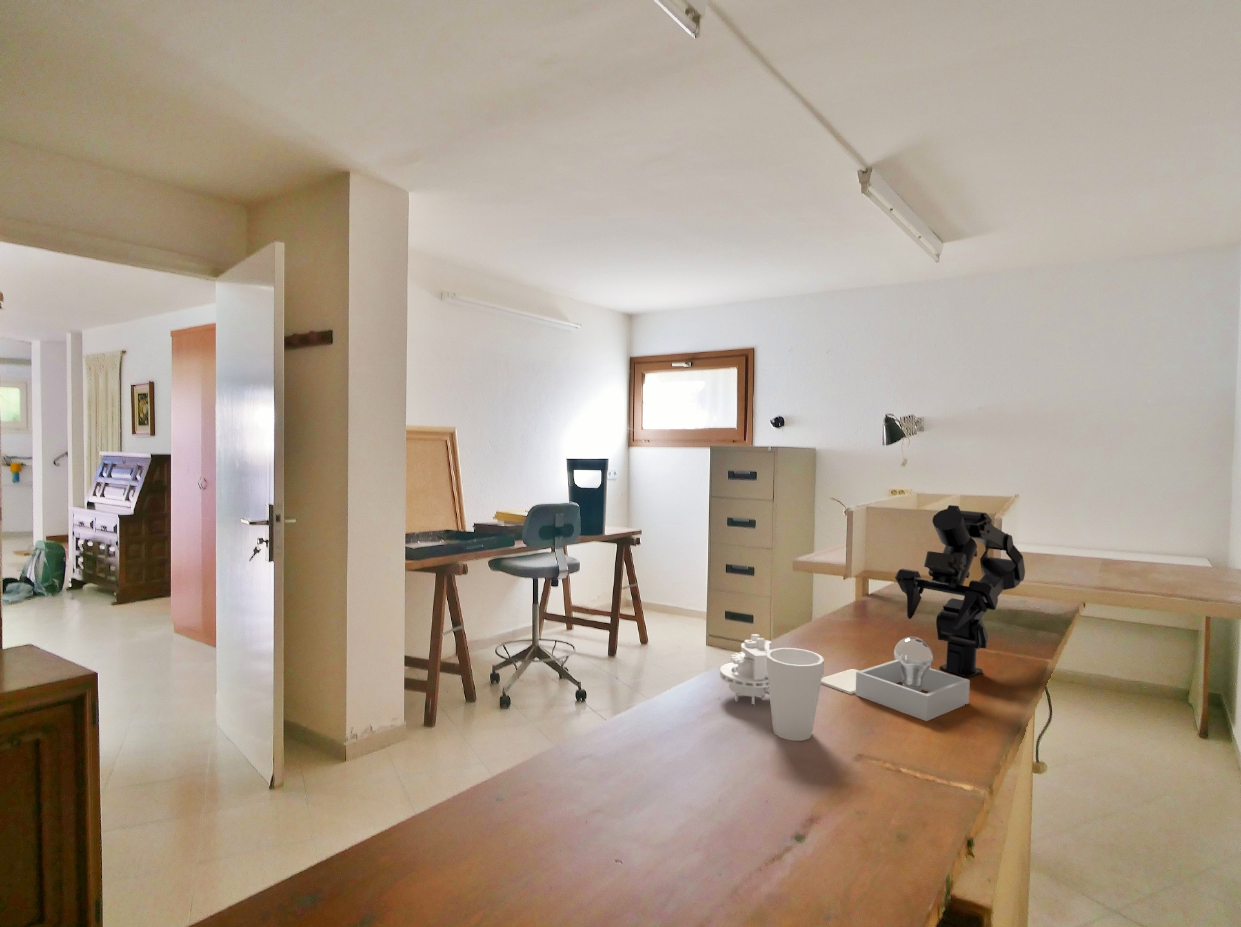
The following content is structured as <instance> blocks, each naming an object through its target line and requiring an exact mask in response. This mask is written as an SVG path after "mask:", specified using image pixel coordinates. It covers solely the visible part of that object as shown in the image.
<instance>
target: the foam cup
mask: <svg viewBox="0 0 1241 927" xmlns="http://www.w3.org/2000/svg"><path fill="white" fill-rule="evenodd" d="M766 669H767V673H768V683H769V693H770V695H769V702H770V711H771V712H770V713H771V723H772V724H771V725H772V730H773V734H774V735H776V736H777V735H778V736H777V737H779V738H782V739H784V740H787V741H788V740H789V741H793V742H794V741H795V742H796V741H806V740H809V739H810V738H811V737H812V735H813V730H814V724H815V718H816V714H817V708H818V702H819V696H820V690H821V685H822V684H821V679H822V678H823V676H824V674H825V659H824V657H823V656H822V655H820V654H818V653H816V652H815V651H812V650H811V651H810V650H807V649H804V648H795V647H777V648H773V649H772V648H771V650H770V651H768V652H767V653H766Z"/></svg>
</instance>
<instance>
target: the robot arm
mask: <svg viewBox="0 0 1241 927" xmlns="http://www.w3.org/2000/svg"><path fill="white" fill-rule="evenodd" d="M932 524H933V526H934V527H933V528H934V529H935V532H936V534H937V536H938V538H939V541H940V543H942V545H944V549H943V550H942V552H940V551H939V552H937V551H930V550H928V551H927V552H926V555H925V556H926V557H925V561H924V568H927V569H928V575H929V576H930V577H931V579H928V578H924V577H922V576H921V575H920V572H919V570H914V569H908V568H901V569H899V570H898V571H897V572H896V575H895V576H894V578H895V581H896V582H897V584H898V586H899V588H900V590H901V592H903V593H904V594H905V595H906V608H907V609H906V612H907V613H906V616H907V619H909V620H911V619H912V618H913V617H914V615H915V613H916V611H917V609H918V606H919V604H920V602H921V600H922V596H921V594H923V592H924V590H926V589H927V590H930V591H937V592H942V593H946V594H951V595H956V596H962V597H963V599H960V598H959V599H957V598H954V597H952V598H949V599H948V601H947V602H946V603H945V604H944V605H942V609H941V611H940V612H939V613H937V616H936V620H935V621H936V622H935V623H936V625H935V626H936V632H937V640H939V641H944V642H947V644H946V659H945V660H946V663H945V664H942V665H939V666H938V668H939V669H940V670H942V671H946V672H949V673H951V674H954V675H955V674H956V675H959V676H962V677H966V678H971V677H973V676H976V675H978V674H981V673H983V668H979V667H977V652H978V651H977V650H979V649H986V648H987V646H988V641H989V640H988V637H989V634H988V631H987V629H986V627H985V625H984V623H983V617H984V615H985V614H986V613H987V612H988V610H991V611H994V610H996V608H997V606H998V602H999V598H998V597H999V596H1000V594H1002V593H1003V591H1006V590H1012V589H1016V588H1017V587H1018V586H1019V585H1020V584H1021V582H1023V581H1024V578H1025V575H1026V568H1025V563H1024V562H1025V561H1024V555H1023V554H1022V553H1021V552H1020V550H1018V548H1017V547H1016V546H1015V544H1014V539H1013V536H1012V535H1011V534H1009V533H1006V532H1004V531H1002V530H1001V529H999V528H998V527H996V526H994V525H993V519H992V518H991V517H990V516H989V514H988V513H987V512H982V511H970V510H961V509H960V506H959V505H952V504H951V505H948V506H947V508H945V509H941V510H939V511H938V512H937V513H936V514H934V515H933V517H932ZM977 542H979V543H980V544H982V545H984V547H985V548H984V549H985V551H983V553H982V555H981V557H980V559H979V563H980V568H981V573H982V574H981V575H982V577H981V578H980V580H973V579H972V580H970V581H969V585H968V586H967V585H964V584H965V582H966V579H969V578H970V575H971V574H970V569H971V565H972V562H973V560H974V557H975V558H977V557H978V550H977V549H978V544H977ZM989 550H997V551H1003V552H1005V553H1006V555H1007V556H1008V557H1009V559H1008V558H1000V557H993V556H989V554H988V552H989Z"/></svg>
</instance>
